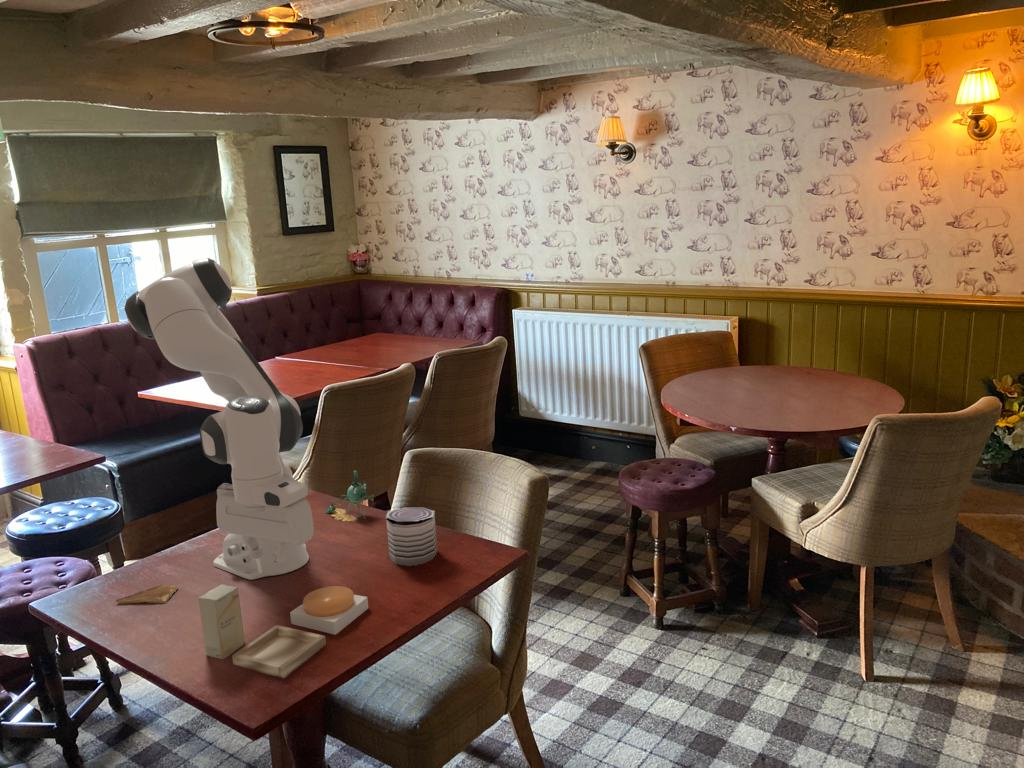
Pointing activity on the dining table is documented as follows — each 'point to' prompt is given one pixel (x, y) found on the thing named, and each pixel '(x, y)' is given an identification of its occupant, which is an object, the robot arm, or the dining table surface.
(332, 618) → the white square base
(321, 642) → the beige soap dish
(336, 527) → the dining table surface
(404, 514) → the can
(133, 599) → the shard
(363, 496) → the frog figurine
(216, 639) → the skincare box
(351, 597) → the button
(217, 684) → the dining table surface
